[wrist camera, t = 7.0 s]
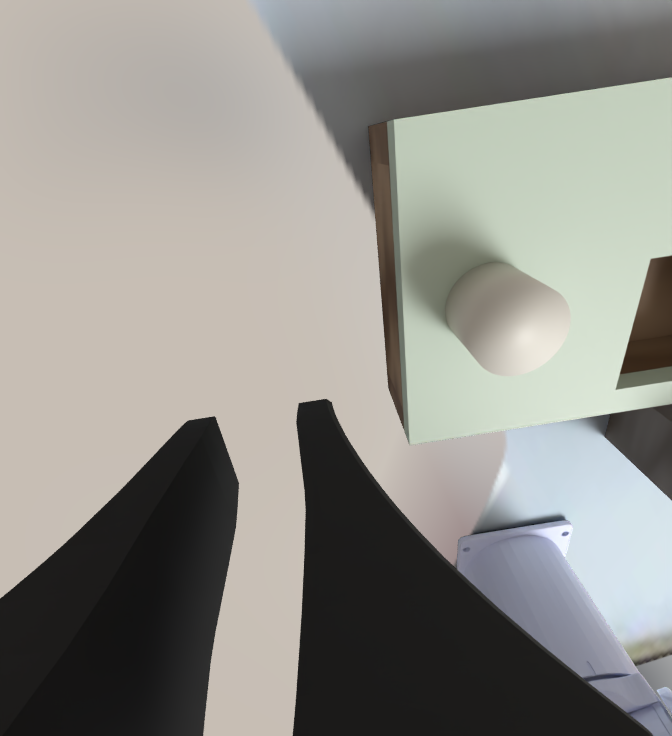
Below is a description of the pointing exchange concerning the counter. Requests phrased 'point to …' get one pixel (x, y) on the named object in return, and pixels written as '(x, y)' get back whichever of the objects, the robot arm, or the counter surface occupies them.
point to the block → (646, 442)
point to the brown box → (644, 350)
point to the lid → (528, 257)
